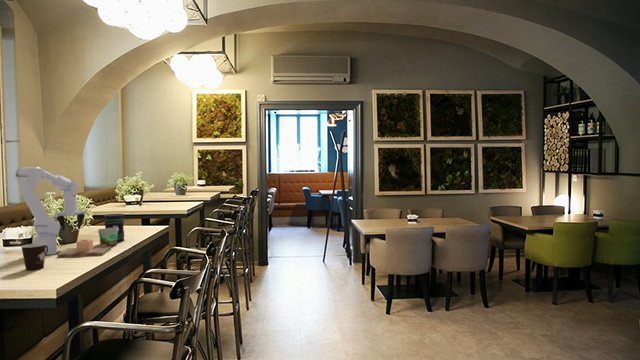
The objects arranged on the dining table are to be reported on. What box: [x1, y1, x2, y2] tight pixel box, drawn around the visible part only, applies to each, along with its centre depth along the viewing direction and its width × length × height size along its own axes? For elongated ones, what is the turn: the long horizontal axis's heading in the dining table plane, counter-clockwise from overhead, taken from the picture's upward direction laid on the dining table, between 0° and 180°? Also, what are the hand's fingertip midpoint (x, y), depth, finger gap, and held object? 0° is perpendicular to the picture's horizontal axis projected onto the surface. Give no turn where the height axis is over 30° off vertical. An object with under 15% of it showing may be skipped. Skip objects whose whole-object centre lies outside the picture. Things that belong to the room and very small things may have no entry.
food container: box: [97, 226, 119, 248], centre depth 235 cm, size 12×6×10 cm, turn 168°
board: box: [56, 246, 112, 258], centre depth 218 cm, size 20×14×2 cm
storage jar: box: [104, 213, 125, 244], centre depth 249 cm, size 10×10×15 cm
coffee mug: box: [21, 243, 48, 272], centre depth 190 cm, size 12×9×10 cm
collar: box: [75, 238, 94, 252], centre depth 218 cm, size 6×6×5 cm
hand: (71, 229), depth 233 cm, fingers open, 7 cm apart
